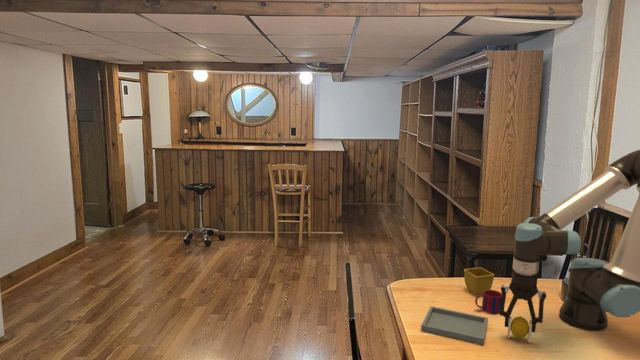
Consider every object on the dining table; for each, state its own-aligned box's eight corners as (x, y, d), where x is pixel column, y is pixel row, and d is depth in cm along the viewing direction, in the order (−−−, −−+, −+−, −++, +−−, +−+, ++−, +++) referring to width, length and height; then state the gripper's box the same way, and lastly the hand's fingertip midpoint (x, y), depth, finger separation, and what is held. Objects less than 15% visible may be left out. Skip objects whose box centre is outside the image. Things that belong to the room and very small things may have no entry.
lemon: (512, 332, 153) (514, 310, 151) (529, 338, 149) (532, 316, 148) (507, 339, 148) (509, 316, 147) (524, 345, 145) (527, 322, 144)
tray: (487, 323, 159) (487, 317, 159) (483, 345, 145) (483, 339, 144) (430, 311, 167) (430, 306, 167) (421, 331, 153) (421, 325, 153)
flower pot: (461, 289, 188) (463, 268, 186) (479, 287, 190) (481, 267, 189) (474, 298, 180) (476, 276, 178) (493, 295, 182) (495, 274, 181)
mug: (503, 314, 166) (505, 297, 165) (477, 314, 166) (478, 297, 165) (496, 306, 173) (498, 289, 172) (470, 306, 173) (472, 289, 171)
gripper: (493, 270, 145) (488, 337, 149) (558, 280, 138) (550, 350, 142) (495, 263, 152) (489, 326, 156) (556, 272, 144) (549, 339, 148)
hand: (518, 337), depth 149 cm, fingers closed on lemon, 5 cm apart
